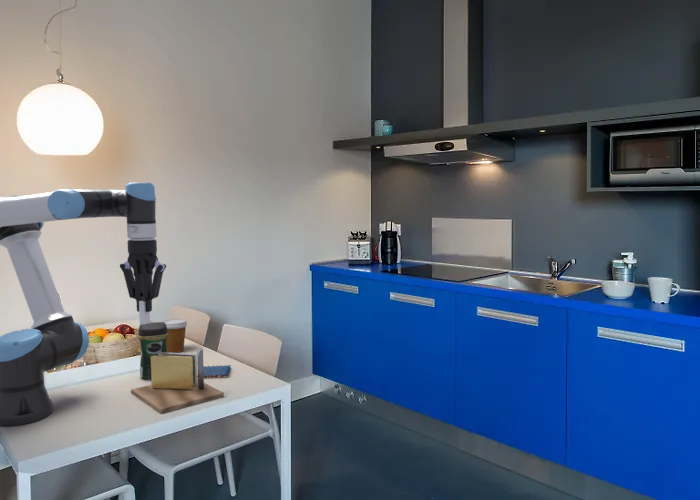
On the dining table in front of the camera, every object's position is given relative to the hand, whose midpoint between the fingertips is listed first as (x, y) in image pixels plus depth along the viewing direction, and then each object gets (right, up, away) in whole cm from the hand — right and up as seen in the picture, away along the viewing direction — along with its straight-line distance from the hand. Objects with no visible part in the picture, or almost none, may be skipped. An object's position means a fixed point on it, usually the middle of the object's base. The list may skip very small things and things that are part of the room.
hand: (144, 323), depth 156 cm
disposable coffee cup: (-12, -20, +66) cm, 70 cm away
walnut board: (+4, -24, +17) cm, 30 cm away
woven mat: (+10, -23, +38) cm, 45 cm away
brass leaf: (+2, -23, +19) cm, 30 cm away
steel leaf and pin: (+4, -24, +22) cm, 33 cm away
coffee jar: (-9, -23, +35) cm, 43 cm away
